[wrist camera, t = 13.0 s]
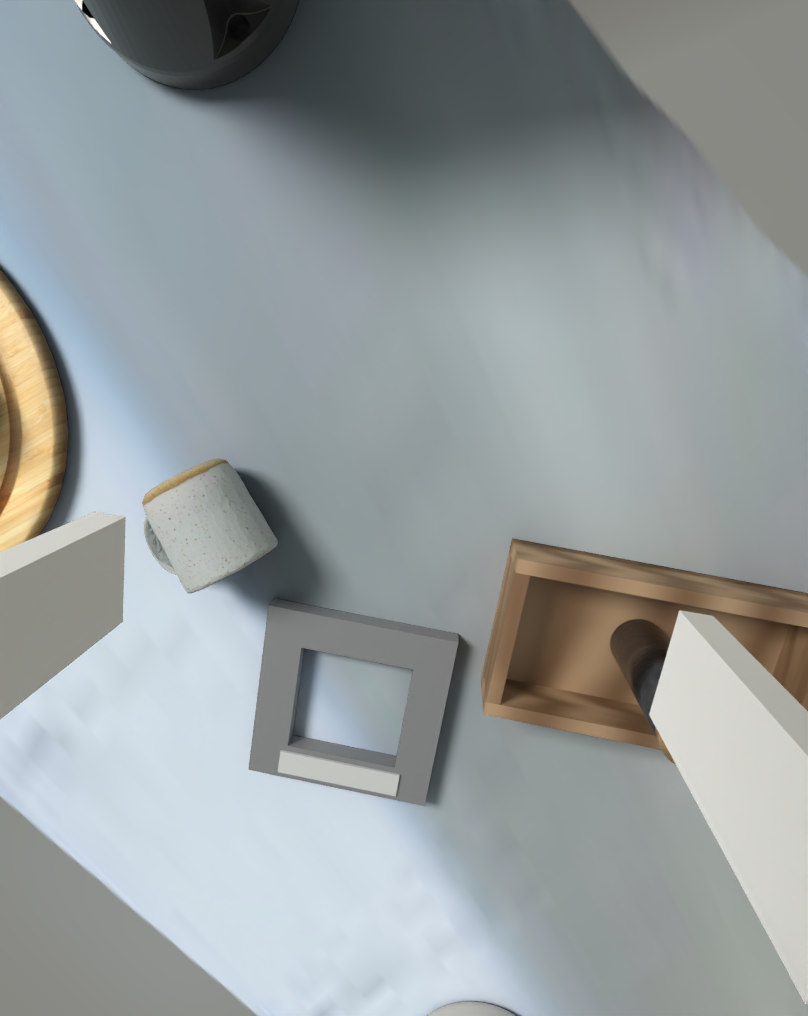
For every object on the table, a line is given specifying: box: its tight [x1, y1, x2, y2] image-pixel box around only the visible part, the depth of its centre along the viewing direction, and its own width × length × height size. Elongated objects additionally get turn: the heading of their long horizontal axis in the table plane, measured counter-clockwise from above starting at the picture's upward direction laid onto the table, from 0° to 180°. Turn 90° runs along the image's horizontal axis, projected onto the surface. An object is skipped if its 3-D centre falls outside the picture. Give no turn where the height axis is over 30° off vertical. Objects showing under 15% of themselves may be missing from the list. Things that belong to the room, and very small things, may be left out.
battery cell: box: [610, 619, 675, 764], centre depth 39 cm, size 4×4×13 cm
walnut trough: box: [481, 539, 808, 750], centre depth 44 cm, size 22×12×5 cm, turn 80°
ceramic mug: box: [142, 459, 278, 593], centre depth 43 cm, size 10×8×7 cm
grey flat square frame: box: [249, 598, 459, 806], centre depth 49 cm, size 15×15×2 cm
